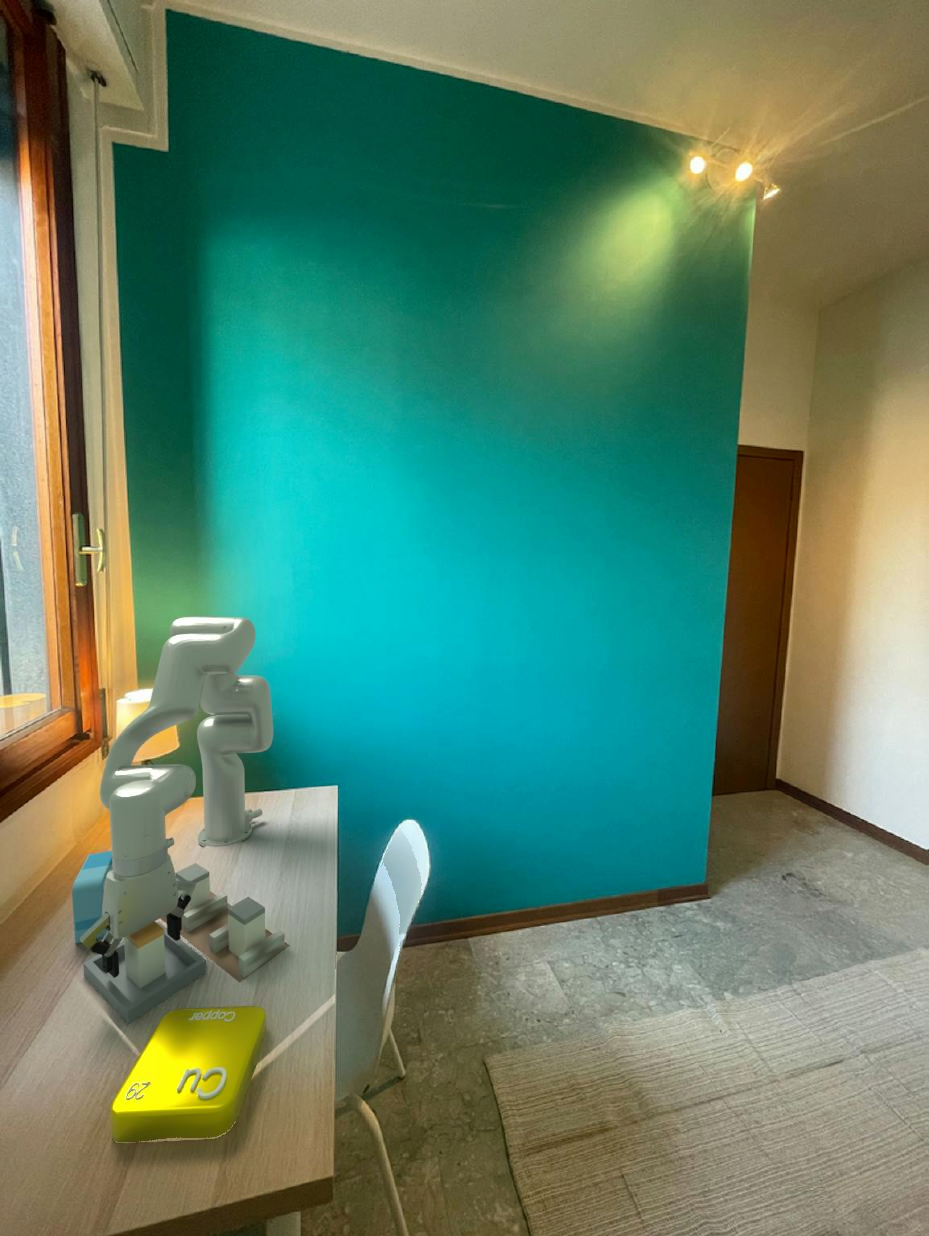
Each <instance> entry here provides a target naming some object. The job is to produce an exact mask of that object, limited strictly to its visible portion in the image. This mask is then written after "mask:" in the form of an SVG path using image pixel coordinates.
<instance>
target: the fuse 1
mask: <svg viewBox="0 0 929 1236" xmlns="http://www.w3.org/2000/svg"><path fill="white" fill-rule="evenodd" d="M175 875H176V880H177V881H193V882H194V883H195V884H196V886H195V889H194V891H193V894H192V895H191V900H190V902H189V903H188V905H187V907H186V908H185V910H184V911H185V913H186V912H188V911H190V910H192V909H194V908H195V907H197V906H199V905H201V904H203V903H205V902H206V901H208V900H210V891H211V888H210V887H211V882H210V871H208V870H207V869H206V868H205V867H203V866H201V865H200V864H198V863H196V862H195V863H193V864H191V865H189V866H187V867H184V868H181V869H180V870H178V871H176V872H175ZM182 893H183V890H179V891H178V899H179V897H180V896H181V894H182ZM185 913H184V914H185Z"/></svg>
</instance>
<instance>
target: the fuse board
mask: <svg viewBox="0 0 929 1236" xmlns="http://www.w3.org/2000/svg"><path fill="white" fill-rule="evenodd" d="M231 906H232V905H231V904H230V903H228V894H227V893H226V892H221V893H219V894H215V893H213V892H212V891H211V890H210V900H208V901H206V902H205V903H203V904H201V905H199V906H197V907H195V908H194V909H192V910H190V911H188V912H186V913H185V914H184V915H183V916H182V917H181V918H182V930H181V931H180V936H181V937H183V938H184V939H185V940H186V941H188V942H189V943H190V944H191V945H193V946H194V947H195V948H197V949H198V950H199V951H200V952H201V953H202V954H204V955H205V956H206V957H207V958H209V959H210V960H211V961H213V963H214V964H216V965H217V966H219V967H220V968H221V969H222V970H224V971H225V973H228V974H229V976H230V977H232V978H233V979H235V980H236V981H237V982H239V983H241V982H243V980H245V979H247V978H248V977H250V975H253V973H255V972H256V971H258V970H259V969H260V968H261V967H263V966H265V965H266V964H267V963H268V962H270V961H272V959H274V958H275V957H277V956H278V955H279V954H281V953H282V952H283V951H285V950H286V949H288V948H289V947H291V945H290V944H289V943H288V942H286V941H285V939H286V937H285V936H286V935H285V931H282V930H281V929H278V930H276V931H275V932H271V931H270V930H268V929H266V928H265V939H264V940H263V941H262V942H260V943H259V944H257V945H256V946H254V947H253V948H251V949H250V950H248V951H247V952H245V953H244V954H243V955H241V956H240V957H238V956H236V955H235V954H234V953H232V952H231V951H230V950H229V932H228V908H230V907H231ZM159 920H162V921H163V922H164V923H165V924H167V915H165V916H163V917H162V918H160V919H159Z"/></svg>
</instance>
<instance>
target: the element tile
mask: <svg viewBox="0 0 929 1236" xmlns="http://www.w3.org/2000/svg"><path fill="white" fill-rule="evenodd" d="M266 1029H267V1028H266V1011H265V1009H263V1007H260V1006H257V1005H246V1006H243V1005H242V1006H216V1007H215V1006H214V1007H185V1008H177V1009H174V1010H170V1011H169V1012H167V1013H166V1014H165V1015H164V1016H163V1017H162V1018H161V1019H160V1020H159V1022H158V1023H157V1025H156V1027H155V1028H154V1030H153V1031H152V1034H151V1035H150V1037H149V1039H147V1042H146V1044H145V1045H144V1047H143V1049H142V1050H141V1052H140V1054H139V1055H138V1057H137V1058H136V1060H135V1062H134V1064H133V1065H132V1067H131V1069H130V1071H129V1072H128V1074H127V1076H126V1077H125V1079H124V1081H123V1082H122V1084H121V1086H120V1087H119V1089H118V1091H117V1093H116V1094H115V1096H114V1098H113V1099H112V1102H111V1104H110V1107H109V1109H110V1110H109V1119H110V1135H112V1137H111V1139H112V1138H113V1140H115V1141H117V1142H139V1141H140V1142H141V1141H149V1140H151V1141H152V1140H156V1139H157V1140H158V1139H166V1138H176V1137H177V1138H180V1137H181V1138H207V1137H208V1138H210V1137H211V1138H212V1137H217V1136H219V1135H221V1134H223V1133H225V1132H227V1130H229V1129H231V1127H232V1125H234V1122H235V1121H236V1120H237V1121H238V1119H237V1117H238V1114H239V1112H240V1113H241V1111H240V1109H241V1110H242V1108H241V1106H242V1107H243V1105H244V1102H245V1099H246V1097H245V1095H246V1096H247V1094H246V1092H247V1093H248V1091H247V1089H248V1090H249V1088H250V1085H249V1084H251V1082H252V1079H253V1077H254V1073H255V1070H256V1068H257V1065H258V1064H257V1063H256V1062H257V1059H258V1057H259V1054H260V1051H261V1048H262V1047H263V1046H262V1045H263V1042H264V1041H265V1040H264V1039H265V1037H266ZM248 1087H249V1088H248ZM244 1098H245V1099H244ZM243 1101H244V1102H243ZM242 1104H243V1105H242ZM239 1115H240V1114H239ZM238 1118H239V1117H238ZM234 1126H235V1125H234ZM231 1130H232V1129H231ZM113 1140H112V1141H113Z"/></svg>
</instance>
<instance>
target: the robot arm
mask: <svg viewBox="0 0 929 1236" xmlns="http://www.w3.org/2000/svg"><path fill="white" fill-rule="evenodd" d="M256 634H257V632H256V628H255V624H254V623H253V622H252V621H251V620H250V619H249V618H246V617H241V616H240V617H239V616H238V617H237V616H236V617H235V616H184V617H180V618H177V619H175V620H173V622H171V625H170V626H169V636H170V638H168V639H167V640H165V642H164V644H163V646H162V649H161V654H160V659H159V661H158V662H159V663H158V667H157V670H156V675H155V680H154V683H153V688H152V692H151V696H150V701H149V704H148V706H147V708H146V709H145V710H143V712H141V713H140V714H139V715H138V716H136V717H135V718H134V719H133V720H132V721H131V722H129V724H128V725H127V726H126V727H125V728H124V729H123V730H122V731H121V733H120V734H119V735H118V736H117V737H116V738H115V740H114V742H113V743H112V745H111V746H110V749H109V751H108V754H107V758H106V761H105V766H104V770H103V773H102V777H101V780H100V781H101V782H100V789H99V797H100V802H101V804H102V805H103V807H104V808H106V809H108V810H109V822H110V823H109V825H110V827H109V828H110V843H111V851H112V866H113V870H112V871H110V872H108V874H107V876H106V881H105V886H104V893H103V904H102V917H101V918H100V919H99V920H98V921H97V922H96V923H95V924H94V925H93V926H92V927H91V928H89V929H88V930H87V931H86V932H85V933H84V934H83V935H82V936H81V937H80V941H81V943H82V945H84V946H85V947H86V948H87V949H88V950H89V951H91V952H92V953H93V954H97V955H99V954H101V955H102V964H103V970H104V972H105V973H108V972H109V973H110V974H111V975H112V976H113V977H114V978H115V977H117V976H118V975H119V957H118V952H117V951H116V948H117V946H118V945H119V943H121V942H122V940H123V939H124V937H126V936H128V935H130V934H132V933H134V932H136V931H138V930H139V929H141V928H143V927H145V926H147V925H149V924H151V923H152V922H154V921H155V922H156V921H158V920H161V919H160V918H162V917H163V916H165V915H167V923H166V928H167V934H168V935H169V936H170V937H171V938H172V939H174V940H175V941H178V940H179V939H181V935H180V931H181V930H182V918H181V917H182V916H183V915H184V913H185V911H184V910H185V908H186V907H187V905H188V903H189V902H190V900H191V895H192V894H193V891H194V889H195V886H196V884H195V883H194V882H193V881H177V880H176V872H175V867H174V863H173V861H172V858H171V857H172V856H171V855H170V854H169V851H168V850H169V848H170V847H172V846H174V845H175V840H174V838H173V837H169V838H167V833H166V832H167V831H166V816H168V814H171V813H172V812H173V811H175V810H177V809H179V808H180V807H182V806H183V805H184V804H185V803H186V802H187V801H188V800H189V799H190V798H191V796H192V795H193V793H194V791H195V789H196V785H197V778H196V774H195V771H194V770H193V768H192V767H191V766H188V765H186V764H181V763H180V764H179V763H175V764H174V763H172V764H171V763H170V764H139V765H133V762H134V759H135V756H136V755H137V753H138V751H139V750H140V748H141V747H143V745H144V744H145V743H146V742H148V740H150V739H151V738H153V737H155V736H156V735H158V734H159V733H162V732H164V731H165V730H168V729H170V728H172V727H174V726H176V725H179V724H182V723H185V722H186V721H189V720H190V719H193V718H194V717H195V716H197V715H198V713H199V711H200V707H201V710H203V712H204V713H206V714H207V715H208V714H209V715H211V716H208V717H206V718H204V719H203V720H202V721H200V723H199V724H198V727H197V731H196V738H197V744H198V748H199V753H200V759H201V765H202V787H203V789H202V790H203V791H202V793H203V795H202V797H203V819H204V821H203V822H204V823H203V824H204V825H203V826H204V828H202V830H200V831H199V833H198V835H197V842H198V844H199V845H200V846H202V847H205V848H206V847H225V846H229V845H233V844H235V843H238V842H243V841H245V840H246V839H249V838H248V837H250V836H251V835H252V833H253V825H252V823H251V822H252V821H253V820H254V819H257V818H259V817H261V816H263V810H262V809H261V808H258V809H255V810H253V809H251V808H248V809H247V810H246V796H245V795H246V793H245V791H246V790H245V784H246V783H245V767H244V763H243V761H242V759H241V758H240V757H239V755H238V754H246V753H247V754H250V753H261V752H262V753H263V752H264V751H267V750H268V749H269V748H270V747H271V745H272V743H273V739H274V723H273V709H272V696H271V695H272V694H271V689H270V684H269V683H268V681H267V679H266V678H264V677H263V676H260V675H255V674H254V675H249V674H248V675H239V674H237V672H238V671H239V670H240V669H241V667H242V666H243V665H244V663H245V661H246V660H247V658H248V657H249V655H250V654H251V652H252V651H253V649H254V646H255V644H256V638H257V637H256V636H257V635H256ZM179 890H183V893H182V894H181V896H180V897H179V899H178V891H179ZM103 930H105V931H106V930H108V931H107V933H106V934H105V936H104V937H103V938H101V940H98V939H96V937H97V936H98V935H99V934H100V933H101V932H102V931H103Z"/></svg>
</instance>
